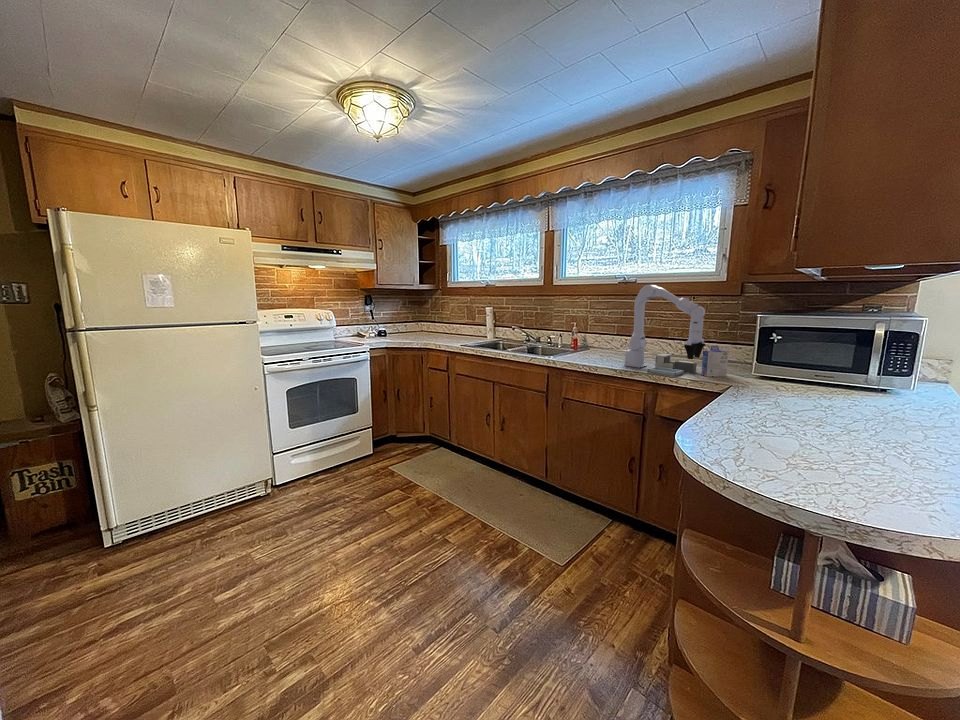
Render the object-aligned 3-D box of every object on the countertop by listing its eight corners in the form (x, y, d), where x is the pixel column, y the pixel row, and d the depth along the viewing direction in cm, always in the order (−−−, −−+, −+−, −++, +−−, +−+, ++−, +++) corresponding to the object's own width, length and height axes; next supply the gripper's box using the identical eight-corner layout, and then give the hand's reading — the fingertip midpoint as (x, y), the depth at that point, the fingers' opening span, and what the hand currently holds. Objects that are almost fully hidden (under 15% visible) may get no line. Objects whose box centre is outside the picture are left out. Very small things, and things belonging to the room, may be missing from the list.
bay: (654, 368, 206) (655, 355, 205) (662, 366, 211) (663, 353, 210) (672, 371, 199) (673, 357, 198) (679, 369, 204) (680, 355, 203)
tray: (647, 372, 197) (647, 368, 197) (655, 369, 203) (656, 366, 202) (675, 376, 186) (675, 372, 186) (683, 374, 192) (683, 370, 192)
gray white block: (674, 370, 200) (674, 361, 199) (677, 369, 203) (678, 360, 202) (692, 373, 194) (693, 363, 193) (695, 372, 196) (696, 362, 195)
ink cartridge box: (720, 374, 191) (723, 345, 188) (727, 376, 185) (730, 346, 183) (700, 374, 191) (702, 345, 188) (706, 377, 185) (709, 346, 183)
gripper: (698, 332, 184) (695, 360, 187) (710, 330, 193) (708, 357, 196) (682, 331, 190) (680, 358, 192) (695, 329, 199) (693, 355, 201)
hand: (693, 358), depth 194 cm, fingers open, 7 cm apart
